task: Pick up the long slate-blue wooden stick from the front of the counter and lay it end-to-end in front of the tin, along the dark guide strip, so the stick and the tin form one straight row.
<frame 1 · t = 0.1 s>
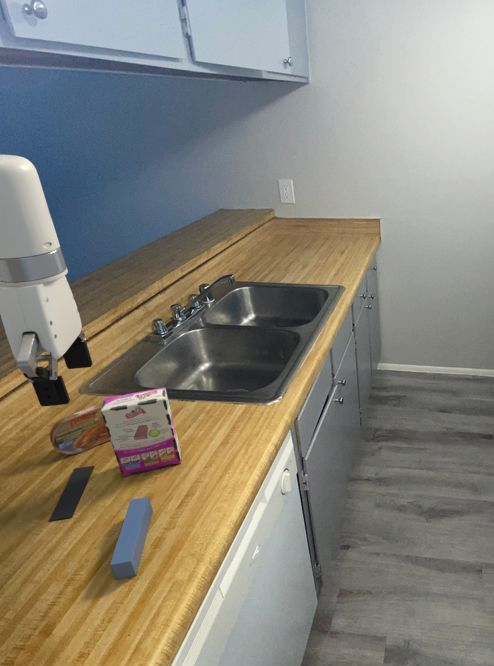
hand: (69, 384, 65), 33 cm above the worktop, tool pointing down, fingers open, 9 cm apart
stick: (135, 542, 81), on the worktop
guide strip: (73, 492, 91), on the worktop
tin: (97, 442, 104), on the worktop
candy bar box: (152, 463, 99), on the worktop
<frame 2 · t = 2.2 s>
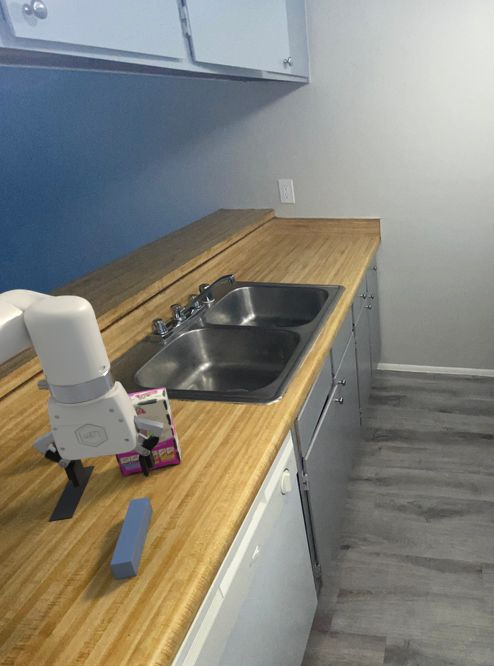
hand: (115, 475, 74), 15 cm above the worktop, tool pointing down, fingers open, 9 cm apart
nothing on the worktop moved.
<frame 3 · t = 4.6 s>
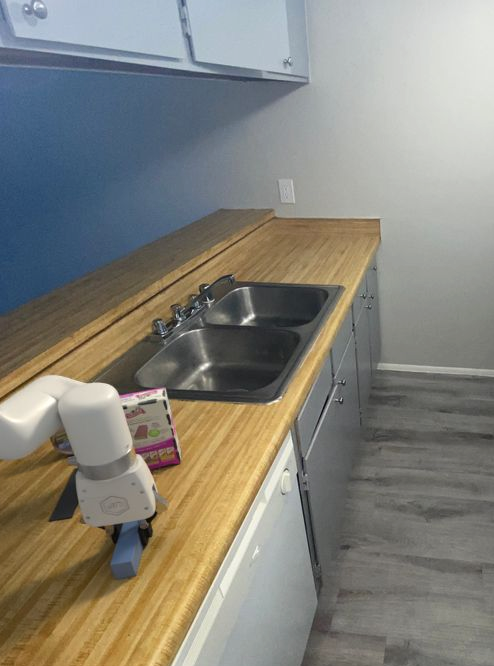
hand: (134, 540, 81), 0 cm above the worktop, tool pointing down, fingers closed on stick, 3 cm apart
stick: (135, 542, 81), on the worktop, touching gripper
everything else where it was.
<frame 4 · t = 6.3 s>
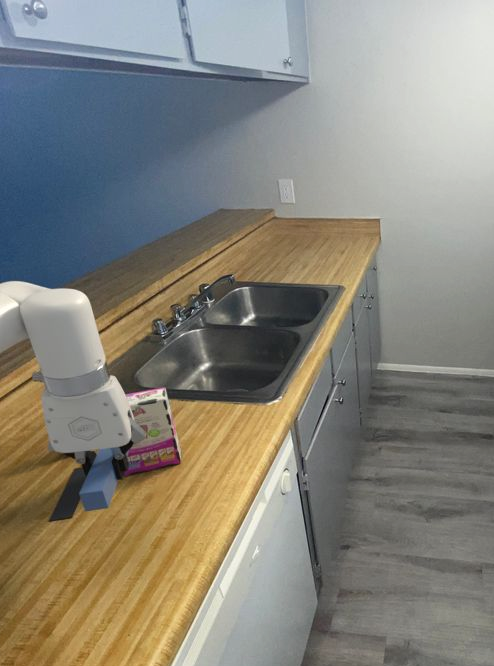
hand: (109, 474, 75), 15 cm above the worktop, tool pointing down, fingers closed on stick, 3 cm apart
stick: (109, 476, 75), point 15 cm above the worktop, touching gripper
everything else where it was.
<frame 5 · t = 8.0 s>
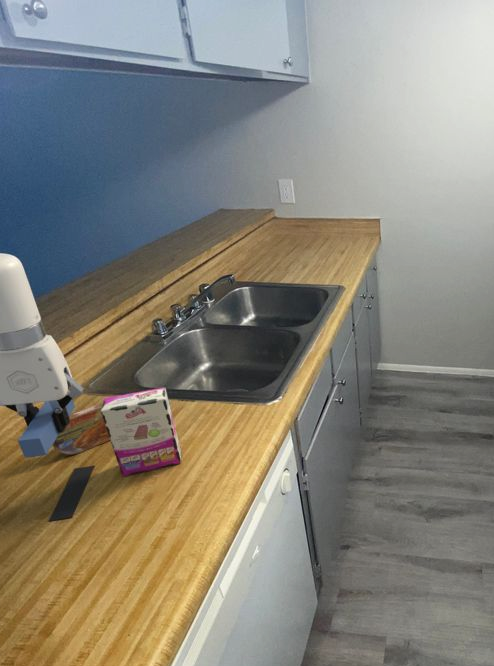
hand: (51, 428, 82), 17 cm above the worktop, tool pointing down, fingers closed on stick, 3 cm apart
stick: (52, 430, 82), point 16 cm above the worktop, touching gripper
everything else where it was.
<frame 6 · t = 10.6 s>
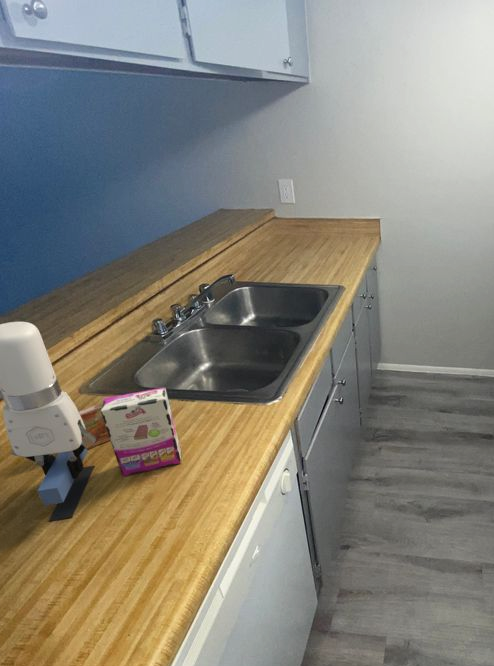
hand: (66, 474, 88), 5 cm above the worktop, tool pointing down, fingers closed on stick, 3 cm apart
stick: (67, 476, 89), point 4 cm above the worktop, touching gripper
everything else where it was.
when the fingers open (1 cm above the worktop, at t = 11.9 s): stick stays where it is, resting on guide strip.
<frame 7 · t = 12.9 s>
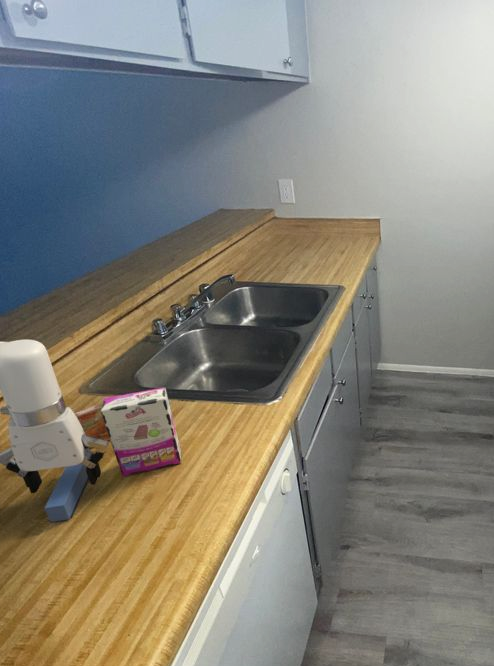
hand: (66, 483, 89), 3 cm above the worktop, tool pointing down, fingers open, 9 cm apart
stick: (73, 492, 91), resting on guide strip
everything else where it was.
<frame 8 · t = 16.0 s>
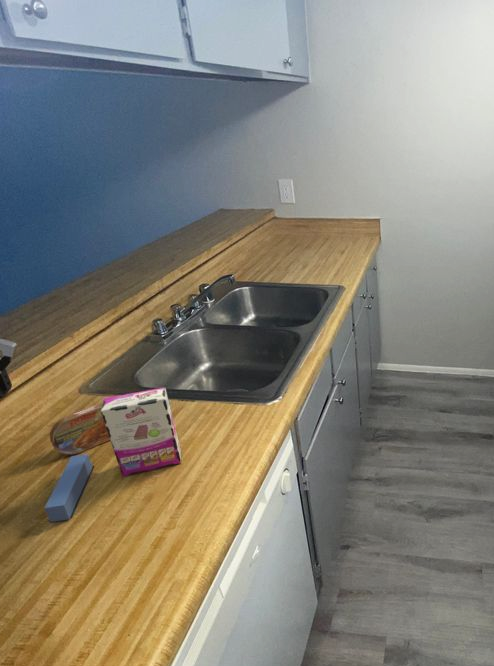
nothing on the worktop moved.
at the end: stick 1.0 cm from the target spot on the worktop beside the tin, resting on guide strip; stick tilted 0°; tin moved 0.2 cm from its start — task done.
